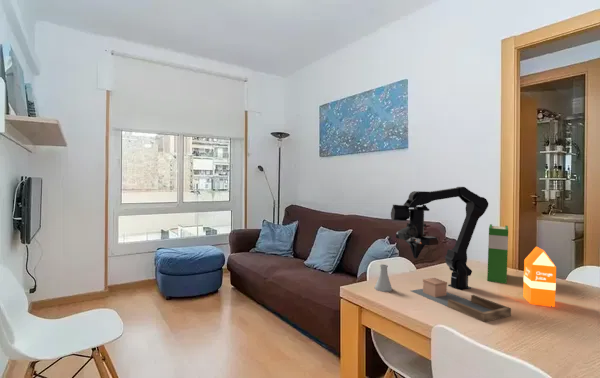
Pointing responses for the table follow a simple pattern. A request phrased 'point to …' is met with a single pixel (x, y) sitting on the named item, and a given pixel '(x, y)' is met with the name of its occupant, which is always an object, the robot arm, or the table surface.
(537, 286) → the orange juice
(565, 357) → the table surface
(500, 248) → the hardback book
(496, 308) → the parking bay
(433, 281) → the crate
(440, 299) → the runner mat
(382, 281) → the flask
